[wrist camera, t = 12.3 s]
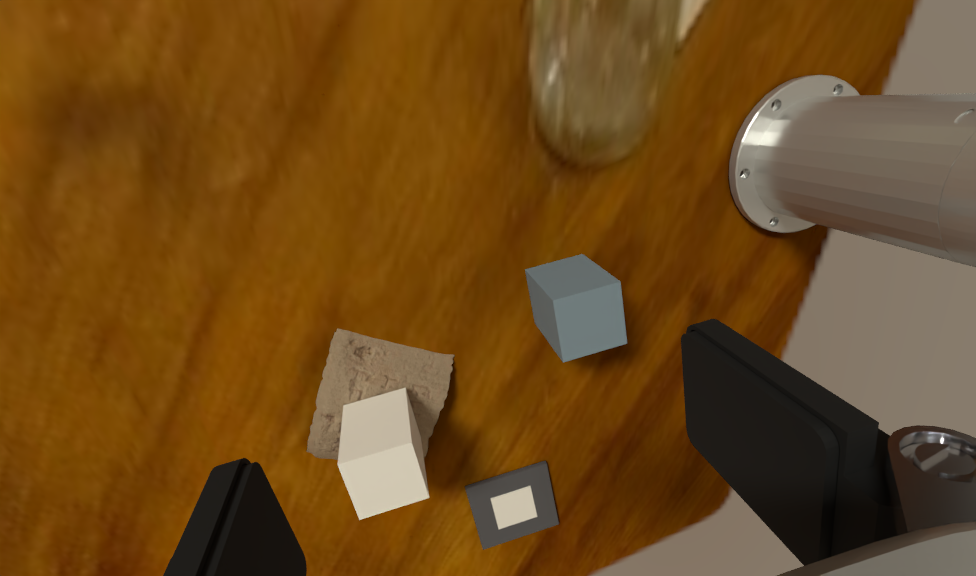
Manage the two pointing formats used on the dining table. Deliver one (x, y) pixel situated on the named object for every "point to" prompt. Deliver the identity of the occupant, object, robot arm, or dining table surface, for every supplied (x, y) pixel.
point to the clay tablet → (376, 385)
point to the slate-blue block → (577, 306)
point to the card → (513, 504)
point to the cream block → (382, 454)
